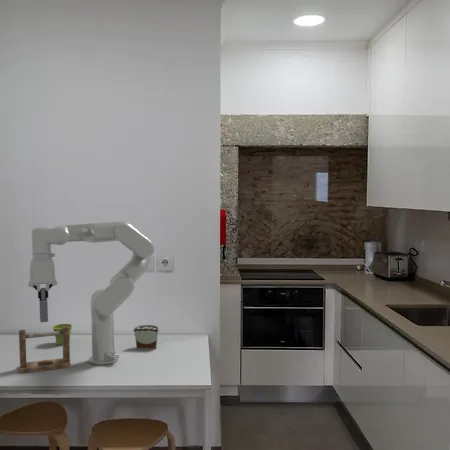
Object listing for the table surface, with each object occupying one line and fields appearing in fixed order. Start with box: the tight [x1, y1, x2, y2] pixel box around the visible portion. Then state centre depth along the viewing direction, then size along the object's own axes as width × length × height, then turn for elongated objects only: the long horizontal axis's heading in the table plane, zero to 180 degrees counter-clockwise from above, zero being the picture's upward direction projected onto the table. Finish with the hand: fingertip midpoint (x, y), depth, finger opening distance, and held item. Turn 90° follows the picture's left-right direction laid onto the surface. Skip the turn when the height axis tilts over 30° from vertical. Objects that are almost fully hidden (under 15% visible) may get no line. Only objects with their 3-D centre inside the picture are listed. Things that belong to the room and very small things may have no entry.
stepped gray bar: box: [38, 287, 49, 323], centre depth 225 cm, size 8×3×14 cm, turn 21°
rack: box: [18, 326, 71, 374], centre depth 227 cm, size 20×9×16 cm, turn 111°
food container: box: [133, 324, 160, 350], centre depth 255 cm, size 12×6×10 cm, turn 84°
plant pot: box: [52, 323, 73, 346], centre depth 261 cm, size 9×9×9 cm
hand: (43, 299), depth 225 cm, fingers closed on stepped gray bar, 1 cm apart
